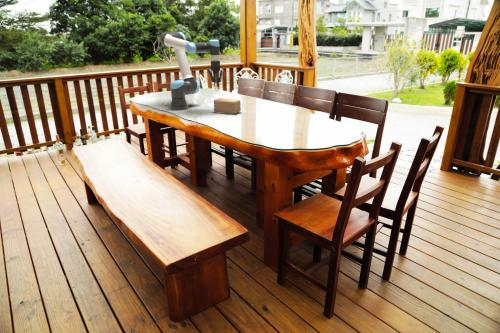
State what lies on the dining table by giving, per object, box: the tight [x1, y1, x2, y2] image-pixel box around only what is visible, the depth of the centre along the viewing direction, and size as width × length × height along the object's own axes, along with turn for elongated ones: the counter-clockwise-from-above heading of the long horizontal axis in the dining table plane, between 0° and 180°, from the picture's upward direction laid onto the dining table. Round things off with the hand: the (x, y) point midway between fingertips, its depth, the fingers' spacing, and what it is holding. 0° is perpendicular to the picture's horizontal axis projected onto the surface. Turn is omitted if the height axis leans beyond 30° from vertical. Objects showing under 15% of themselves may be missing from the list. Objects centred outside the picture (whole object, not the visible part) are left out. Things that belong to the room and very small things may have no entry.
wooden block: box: [213, 97, 242, 115], centre depth 264 cm, size 10×10×20 cm
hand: (216, 90), depth 266 cm, fingers closed
